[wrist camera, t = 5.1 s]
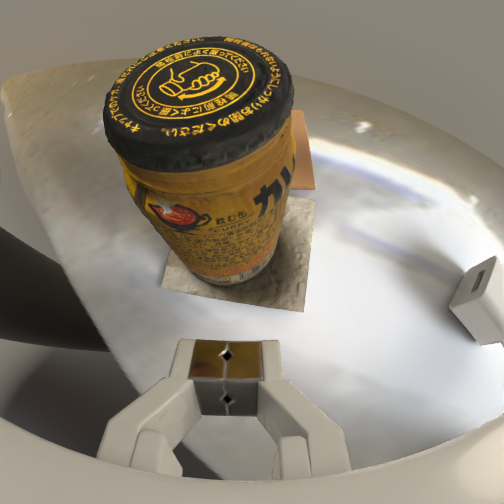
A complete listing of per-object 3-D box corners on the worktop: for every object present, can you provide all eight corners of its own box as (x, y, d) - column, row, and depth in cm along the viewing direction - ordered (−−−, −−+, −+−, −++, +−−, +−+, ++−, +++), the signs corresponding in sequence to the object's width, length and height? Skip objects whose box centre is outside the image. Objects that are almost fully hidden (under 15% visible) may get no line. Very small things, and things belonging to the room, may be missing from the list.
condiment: (189, 183, 19) (136, 28, 7) (314, 201, 18) (374, 44, 7) (162, 288, 16) (25, 194, 5) (302, 313, 16) (410, 248, 5)
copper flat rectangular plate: (314, 189, 19) (315, 187, 19) (169, 190, 19) (168, 188, 19) (302, 112, 22) (302, 109, 21) (184, 113, 22) (183, 111, 21)
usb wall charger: (465, 270, 17) (498, 252, 13) (507, 324, 15) (539, 315, 11) (445, 310, 16) (482, 298, 12) (490, 364, 14) (525, 360, 10)
